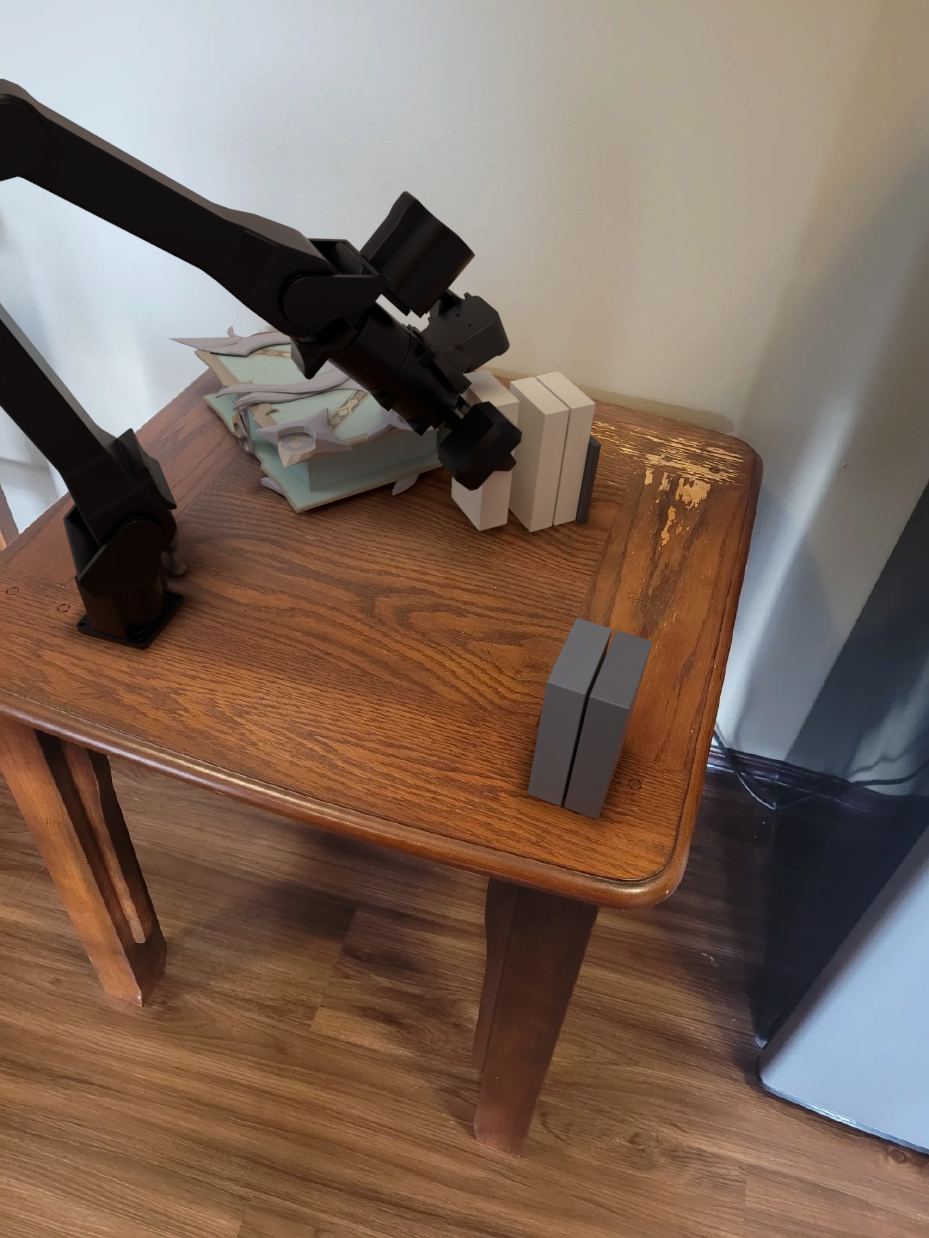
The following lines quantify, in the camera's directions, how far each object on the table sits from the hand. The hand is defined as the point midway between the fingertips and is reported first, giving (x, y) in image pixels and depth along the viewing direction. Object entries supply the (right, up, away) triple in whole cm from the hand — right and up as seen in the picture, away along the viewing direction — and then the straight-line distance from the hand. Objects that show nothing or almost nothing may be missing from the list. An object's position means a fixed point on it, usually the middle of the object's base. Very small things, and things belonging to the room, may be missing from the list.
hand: (496, 449), depth 78 cm
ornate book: (-19, +5, +16) cm, 25 cm away
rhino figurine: (-33, -9, +1) cm, 34 cm away
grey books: (+5, -27, -16) cm, 32 cm away
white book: (-2, -5, +4) cm, 7 cm away
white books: (+5, -4, +8) cm, 10 cm away
